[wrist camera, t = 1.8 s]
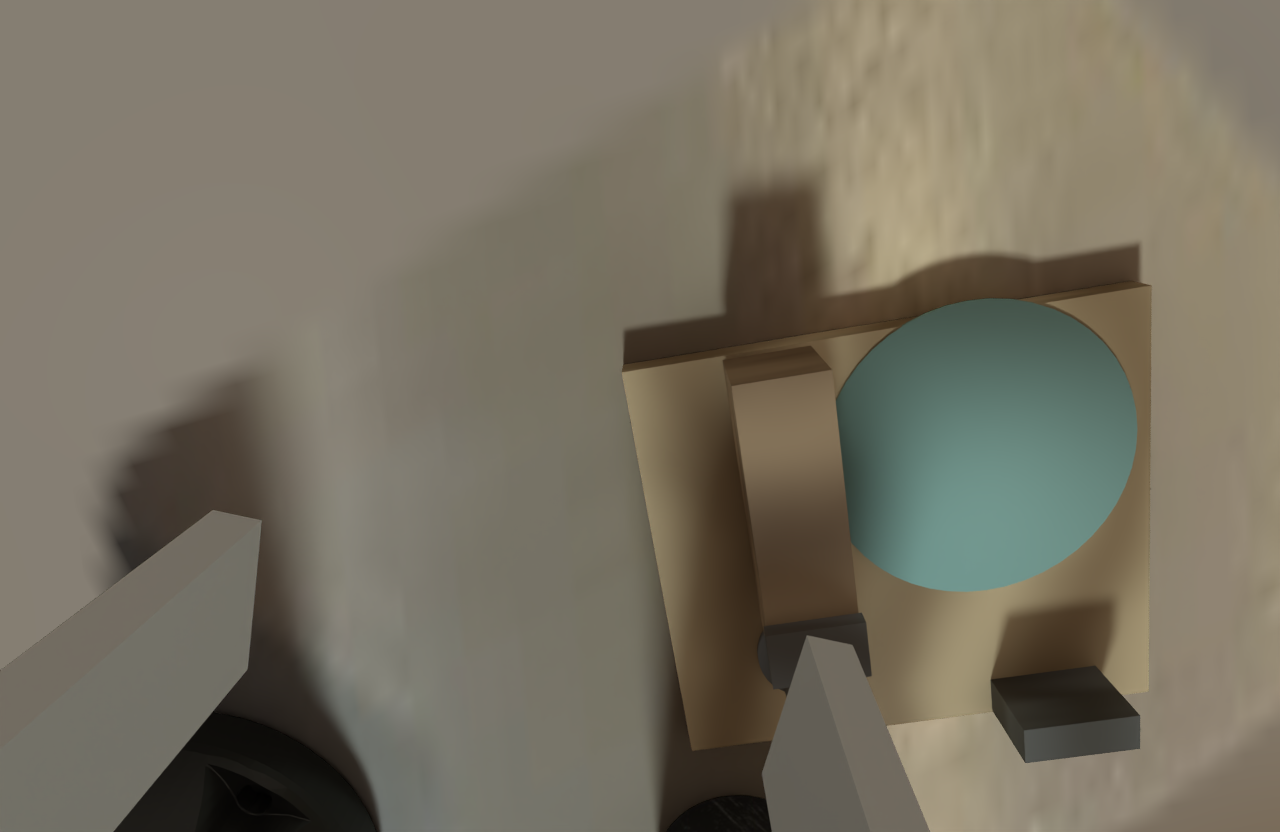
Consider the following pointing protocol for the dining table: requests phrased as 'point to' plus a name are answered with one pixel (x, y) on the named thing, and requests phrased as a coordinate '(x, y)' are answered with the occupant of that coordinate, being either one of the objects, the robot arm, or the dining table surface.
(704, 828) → the travel mug
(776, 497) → the leg bar
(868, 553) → the felt pad
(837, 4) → the dining table surface
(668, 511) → the oak board
